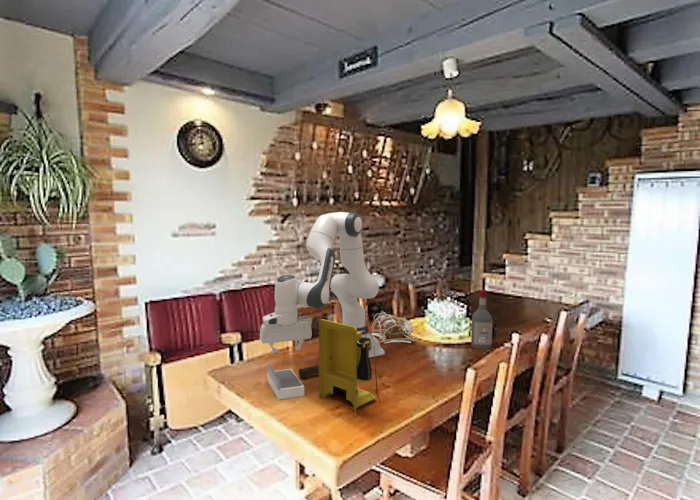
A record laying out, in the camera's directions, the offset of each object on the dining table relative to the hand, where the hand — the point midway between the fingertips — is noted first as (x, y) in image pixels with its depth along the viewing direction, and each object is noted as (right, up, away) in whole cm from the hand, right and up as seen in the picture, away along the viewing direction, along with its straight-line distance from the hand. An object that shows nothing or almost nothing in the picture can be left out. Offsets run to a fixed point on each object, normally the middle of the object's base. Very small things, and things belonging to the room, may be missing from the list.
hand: (286, 351), depth 173 cm
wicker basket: (+50, -10, +73) cm, 89 cm away
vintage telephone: (+26, -16, -9) cm, 31 cm away
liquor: (+93, -11, +57) cm, 110 cm away
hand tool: (+7, -17, +14) cm, 23 cm away
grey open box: (-1, -15, +1) cm, 15 cm away
